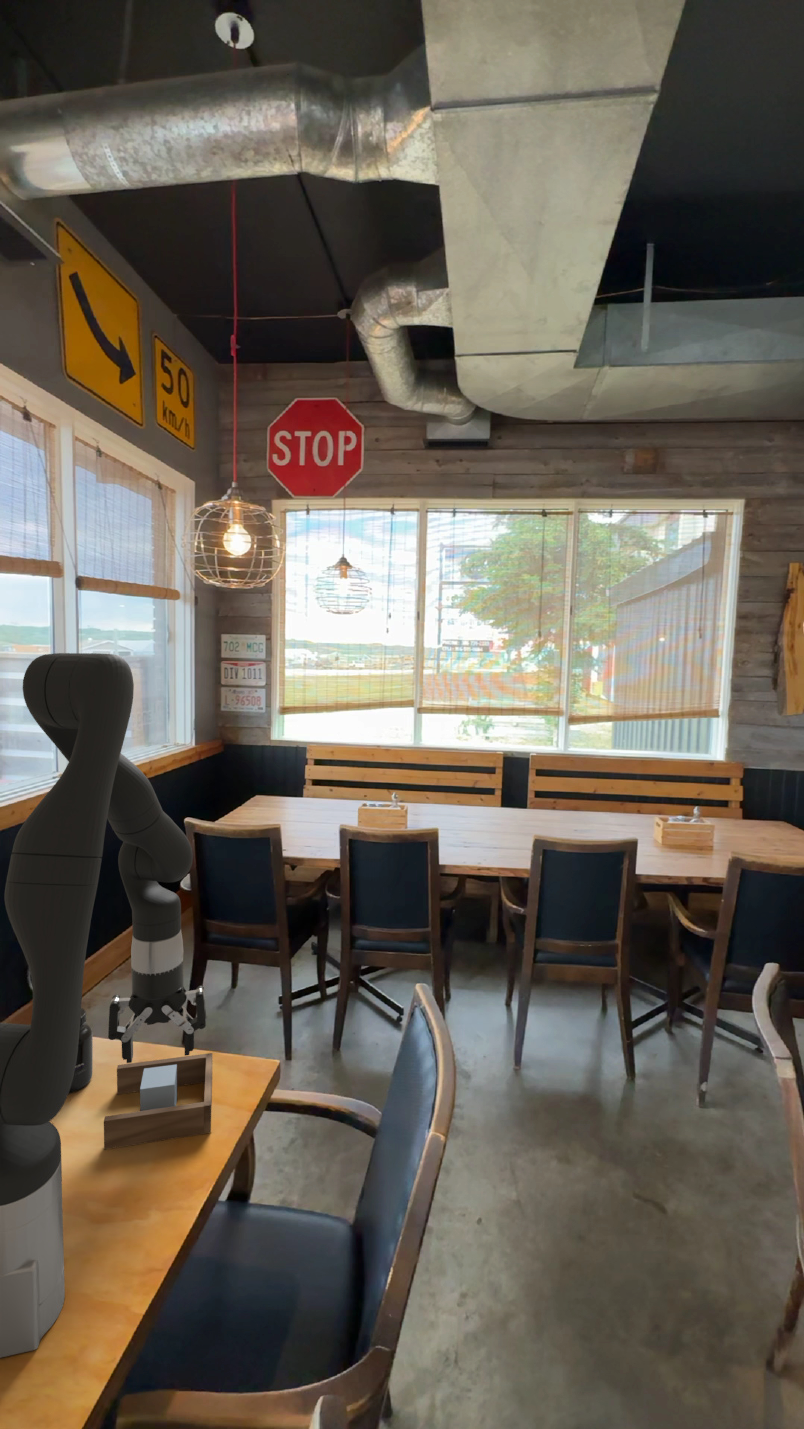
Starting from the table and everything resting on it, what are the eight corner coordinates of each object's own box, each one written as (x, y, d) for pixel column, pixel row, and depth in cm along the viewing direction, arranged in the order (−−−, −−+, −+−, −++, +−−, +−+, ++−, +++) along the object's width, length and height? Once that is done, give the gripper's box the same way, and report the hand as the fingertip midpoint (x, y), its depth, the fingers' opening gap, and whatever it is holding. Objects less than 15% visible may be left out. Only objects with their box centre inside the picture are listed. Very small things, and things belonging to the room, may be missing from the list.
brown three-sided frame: (210, 1132, 99) (210, 1105, 99) (104, 1149, 95) (103, 1121, 95) (212, 1077, 112) (212, 1052, 111) (118, 1090, 108) (117, 1065, 107)
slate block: (174, 1120, 102) (174, 1084, 101) (140, 1125, 100) (140, 1089, 100) (176, 1098, 106) (176, 1064, 106) (144, 1103, 105) (144, 1068, 104)
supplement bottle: (70, 1100, 105) (68, 1030, 104) (37, 1089, 107) (35, 1021, 106) (102, 1074, 112) (101, 1008, 110) (71, 1064, 114) (69, 1000, 112)
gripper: (103, 976, 95) (106, 1078, 97) (204, 966, 99) (205, 1064, 101) (111, 952, 102) (114, 1047, 104) (206, 943, 106) (206, 1035, 108)
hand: (159, 1055), depth 103 cm, fingers open, 8 cm apart
